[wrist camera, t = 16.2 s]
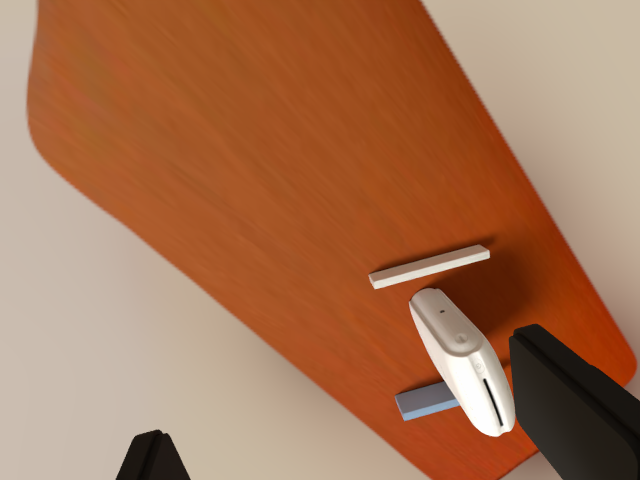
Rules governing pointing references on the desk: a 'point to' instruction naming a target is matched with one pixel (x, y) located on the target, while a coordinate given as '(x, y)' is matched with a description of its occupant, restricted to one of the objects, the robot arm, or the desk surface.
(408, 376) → the desk surface
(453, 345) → the photo printer
